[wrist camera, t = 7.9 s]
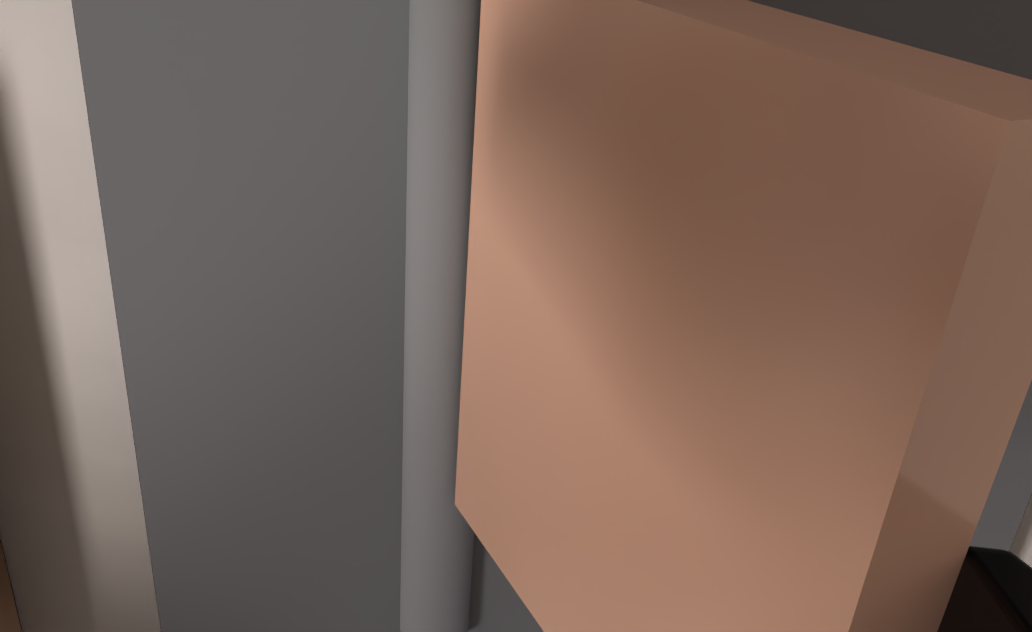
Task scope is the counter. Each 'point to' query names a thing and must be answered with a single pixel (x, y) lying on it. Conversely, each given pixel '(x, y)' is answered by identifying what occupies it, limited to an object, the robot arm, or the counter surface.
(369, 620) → the mat
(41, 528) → the counter surface
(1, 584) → the stand
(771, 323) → the tile
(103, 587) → the counter surface
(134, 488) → the counter surface
